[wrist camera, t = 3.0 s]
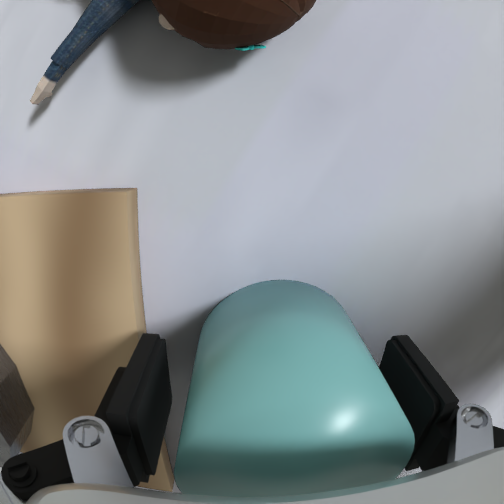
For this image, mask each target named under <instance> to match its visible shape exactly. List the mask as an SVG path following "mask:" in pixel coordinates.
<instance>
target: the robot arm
mask: <svg viewBox="0 0 504 504" xmlns="http://www.w3.org/2000/svg"><path fill="white" fill-rule="evenodd" d="M379 370H380V371H381V373H382V375H383V377H384V378H385V380H386V382H387V384H388V385H389V387H390V389H391V391H392V392H393V394H394V396H395V398H396V400H397V401H398V403H399V405H400V407H401V409H402V410H403V412H404V414H405V416H406V418H407V420H408V421H409V423H410V425H411V427H412V430H413V432H414V438H415V444H414V450H413V453H412V455H411V458H410V460H409V461H408V463H407V465H406V466H405V469H406V471H408V470H412V469H416V468H419V466H420V468H421V470H422V471H421V472H420V473H416V474H413V475H409V476H405V477H401V478H397V479H393V480H389V481H384V482H380V483H375V484H370V485H365V486H360V487H354V488H348V489H342V490H335V491H327V492H319V493H310V494H299V495H285V496H262V497H230V496H207V495H193V494H181V493H171V492H162V491H154V490H147V489H140V488H134V487H135V486H137V485H139V484H140V482H145V483H148V481H149V477H150V475H155V474H156V469H157V465H158V460H159V456H160V451H161V447H162V442H163V438H164V433H165V429H166V424H167V420H168V416H169V412H170V407H171V402H172V394H171V387H170V379H169V371H168V362H167V353H166V343H165V339H160V336H159V334H148V333H143V334H142V336H141V338H140V340H139V342H138V344H137V346H136V348H135V350H134V352H133V354H132V356H131V358H130V360H129V363H128V365H127V367H118V369H117V370H116V372H115V374H114V376H113V378H112V380H111V382H110V384H109V386H108V388H107V390H106V392H105V395H104V397H103V399H102V401H101V403H100V405H99V407H98V409H97V411H96V413H95V416H80V417H77V418H74V419H73V420H71V421H69V422H68V423H67V425H66V426H65V427H64V430H63V439H62V440H59V441H57V442H54V443H51V444H48V445H46V446H43V447H40V448H37V449H34V450H31V451H28V452H25V453H22V454H19V455H16V456H13V457H11V458H9V459H8V460H7V461H6V462H5V463H4V465H3V467H2V471H1V474H0V504H504V429H501V428H498V427H495V426H492V418H491V415H490V414H489V412H488V411H487V410H486V409H485V408H483V407H481V406H479V405H476V404H465V405H463V406H461V407H460V408H459V406H458V405H457V404H458V402H459V400H458V399H457V397H456V396H455V395H454V393H453V392H452V391H451V389H450V388H449V387H448V385H447V384H446V383H445V381H444V380H443V379H442V378H441V376H440V375H439V374H438V372H437V371H436V370H435V369H434V367H433V366H432V365H431V364H430V362H429V361H428V360H427V359H426V357H425V356H424V355H423V354H422V352H421V351H420V350H419V349H418V347H417V346H416V345H415V344H414V342H413V341H412V340H411V339H410V338H409V336H407V335H400V336H393V337H392V338H391V340H388V341H387V344H386V347H385V350H384V354H383V357H382V360H381V364H380V367H379Z"/></svg>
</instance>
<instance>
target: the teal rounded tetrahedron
mask: <svg viewBox="0 0 504 504" xmlns="http://www.w3.org/2000/svg"><path fill="white" fill-rule="evenodd" d="M414 444H415V438H414V432H413V430H412V427H411V425H410V423H409V421H408V420H407V418H406V416H405V414H404V412H403V410H402V409H401V407H400V405H399V403H398V401H397V400H396V398H395V396H394V394H393V392H392V391H391V389H390V387H389V385H388V384H387V382H386V380H385V378H384V377H383V375H382V373H381V371H380V370H379V368H378V366H377V364H376V363H375V361H374V359H373V358H372V356H371V354H370V352H369V351H368V349H367V347H366V346H365V344H364V342H363V341H362V339H361V337H360V335H359V334H358V332H357V330H356V329H355V327H354V325H353V324H352V322H351V321H350V319H349V317H348V316H347V314H346V312H345V311H344V309H343V308H342V307H341V305H340V304H339V303H338V302H337V301H336V300H335V299H334V298H333V297H332V296H331V295H329V294H328V293H326V292H325V291H323V290H321V289H319V288H318V287H316V286H313V285H310V284H307V283H303V282H299V281H292V280H271V281H264V282H259V283H256V284H252V285H249V286H247V287H244V288H242V289H239V290H238V291H236V292H234V293H232V294H231V295H229V296H228V297H226V298H225V299H224V300H222V301H221V302H220V303H219V304H218V305H217V306H216V307H215V308H214V309H213V311H212V312H211V313H210V314H209V316H208V317H207V319H206V321H205V323H204V325H203V327H202V330H201V333H200V338H199V343H198V347H197V352H196V357H195V362H194V367H193V372H192V377H191V382H190V387H189V392H188V397H187V402H186V407H185V413H184V418H183V423H182V429H181V434H180V440H179V445H178V451H177V456H176V462H175V468H174V477H175V481H176V484H177V486H178V488H179V490H180V491H181V492H182V494H193V495H207V496H230V497H262V496H285V495H299V494H310V493H319V492H327V491H335V490H342V489H348V488H354V487H360V486H365V485H370V484H375V483H380V482H384V481H389V480H393V479H395V478H396V477H397V476H398V475H399V474H400V473H401V472H402V470H403V469H404V468H405V466H406V465H407V463H408V461H409V460H410V458H411V455H412V453H413V450H414Z"/></svg>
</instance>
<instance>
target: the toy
mask: <svg viewBox="0 0 504 504" xmlns="http://www.w3.org/2000/svg"><path fill="white" fill-rule="evenodd" d="M138 1H139V0H92V1H91V3H90V4H89V6H88V7H87V8H86V10H85V11H84V13H83V14H82V16H81V17H80V19H79V20H78V22H77V23H76V25H75V27H74V28H73V30H72V31H71V32H70V33H69V35H68V36H67V37H66V38H65V40H64V41H63V42H62V44H61V45H60V46H59V47H58V49H57V50H56V51H55V53H54V54H53V55H52V57H51V59H52V60H53V61H52V63H51V64H50V66H49V67H48V69H47V70H46V72H45V74H44V75H43V77H42V78H41V80H40V82H39V83H38V85H37V87H36V90H35V92H34V94H33V96H32V98H31V100H30V102H31V103H32V104H37V105H38V104H39V103H40V102H41V101H42V100H44V99H45V98H46V97H51V96H52V95H53V93H52V90H53V88H54V87H55V85H56V83H57V82H58V81H59V79H60V78H61V77H62V75H63V74H64V73H65V71H66V70H67V69H68V68H69V67H70V66H71V65H72V64H73V63H74V62H75V60H76V59H77V58H78V57H79V56H80V55H81V54H82V53H83V52H84V51H85V50H86V49H87V48H88V47H89V46H90V45H91V44H92V43H93V42H94V41H95V40H96V39H97V38H98V37H99V36H100V35H102V34H103V33H104V32H105V31H106V30H107V29H108V28H109V27H111V26H112V25H113V24H114V23H115V22H116V21H117V20H118V19H119V18H120V17H121V16H122V15H124V14H125V13H126V12H127V11H128V10H129V9H130V8H131V7H132V6H133V5H134V4H136V3H137V2H138ZM151 1H152V2H153V4H154V6H155V7H156V9H157V11H158V12H159V14H160V15H159V22H160V24H161V25H162V27H164V28H165V29H167V30H175V31H176V32H177V33H179V34H180V35H182V36H183V37H186V38H189V39H192V40H194V41H195V42H197V43H199V44H200V45H202V46H204V47H207V48H215V49H232V48H235V49H236V50H241V51H245V50H254V48H266V46H263V45H254V44H257V43H261V42H263V41H266V40H268V39H271V38H273V37H275V36H277V35H279V34H281V33H283V32H284V31H286V30H288V29H289V28H290V27H291V26H293V25H294V24H295V22H296V21H298V20H300V19H301V18H302V17H303V16H304V15H305V14H306V13H308V11H309V10H310V9H311V8H312V7H313V5H314V3H315V1H316V0H151ZM246 46H247V47H246Z"/></svg>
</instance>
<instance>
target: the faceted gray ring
mask: <svg viewBox="0 0 504 504" xmlns="http://www.w3.org/2000/svg"><path fill="white" fill-rule="evenodd" d="M34 409H35V408H34V406H33V404H32V402H31V400H30V397H29V395H28V393H27V391H26V388H25V386H24V384H23V381H22V379H21V376H20V374H19V371H18V369H17V366H16V364H15V363H14V362H13V360H12V359H11V358H10V356H9V355H8V354H7V352H6V351H5V350H4V348H3V347H2V345H1V344H0V467H3V465H4V463H5V462H6V461H7V460H8V459H9V458H11V457H13V456H16V455H18V453H19V452H20V450H21V448H22V446H23V445H24V443H25V441H26V440H27V438H28V436H29V435H30V433H31V428H32V422H33V415H34Z"/></svg>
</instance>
